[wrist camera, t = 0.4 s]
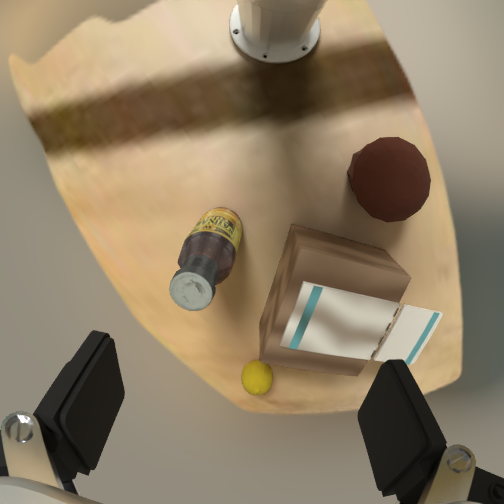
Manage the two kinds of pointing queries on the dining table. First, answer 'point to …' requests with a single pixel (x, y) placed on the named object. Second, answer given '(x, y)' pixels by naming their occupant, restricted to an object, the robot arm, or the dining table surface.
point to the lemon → (257, 377)
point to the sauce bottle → (206, 258)
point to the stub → (408, 334)
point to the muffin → (390, 179)
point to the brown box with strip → (329, 303)
